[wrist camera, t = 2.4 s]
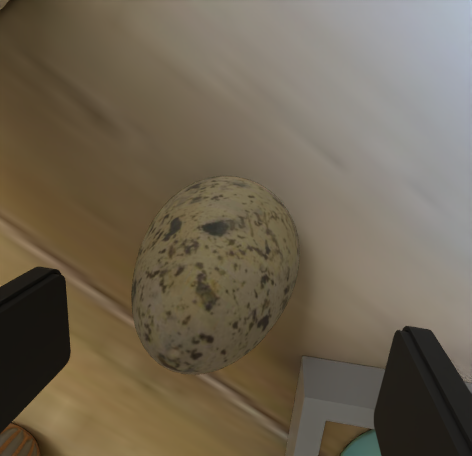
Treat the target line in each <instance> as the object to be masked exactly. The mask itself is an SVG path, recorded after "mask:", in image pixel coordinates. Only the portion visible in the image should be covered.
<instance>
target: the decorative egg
mask: <svg viewBox="0 0 472 456" xmlns="http://www.w3.org/2000/svg"><path fill="white" fill-rule="evenodd" d="M298 267H299V241H298V236H297V232H296V228H295V225H294V223H293V220H292V218H291V216H290V214H289V212H288V211H287V209H286V208H285V206H284V205H283V204H282V202H281V201H280V200H279V199H278V198H277V197H276V196H275V195H274V194H273V193H272V192H271V191H269V190H268V189H266V188H265V187H263V186H261V185H260V184H258V183H255V182H253V181H251V180H248V179H244V178H239V177H232V176H219V177H212V178H207V179H204V180H201V181H198V182H196V183H193V184H191V185H189V186H188V187H186V188H184V189H183V190H181V191H180V192H178V193H177V194H176V195H175V196H173V197H172V198H171V199H170V200H169V201H168V202H167V203H166V204H165V205H164V206H163V208H162V209H161V210H160V211H159V213H158V214H157V215H156V217H155V218H154V220H153V221H152V223H151V225H150V227H149V229H148V231H147V233H146V235H145V237H144V239H143V242H142V244H141V247H140V250H139V253H138V257H137V261H136V266H135V270H134V275H133V284H132V313H133V318H134V323H135V328H136V331H137V334H138V336H139V338H140V340H141V342H142V344H143V346H144V348H145V349H146V351H147V352H148V353H149V354H150V356H151V357H152V358H153V359H154V360H155V361H157V362H158V363H159V364H160V365H162V366H163V367H165V368H167V369H169V370H171V371H174V372H178V373H182V374H194V375H197V374H205V373H209V372H213V371H216V370H219V369H222V368H224V367H226V366H228V365H230V364H232V363H234V362H235V361H237V360H238V359H240V358H241V357H243V356H244V355H246V354H247V353H248V352H250V351H251V350H252V349H253V348H254V347H255V346H256V345H257V344H258V343H259V342H260V341H261V340H262V339H263V338H264V337H265V336H266V334H267V333H268V332H269V331H270V329H271V328H272V327H273V325H274V324H275V322H276V321H277V320H278V318H279V317H280V315H281V314H282V312H283V310H284V308H285V307H286V305H287V302H288V300H289V298H290V296H291V294H292V291H293V288H294V285H295V282H296V277H297V272H298Z"/></svg>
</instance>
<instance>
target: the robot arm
mask: <svg viewBox="0 0 472 456" xmlns="http://www.w3.org/2000/svg"><path fill="white" fill-rule="evenodd" d="M8 1H9V0H0V9H2V8H3V7H4V6H5V5H6V3H7V2H8ZM70 353H71V350H70V337H69V323H68V309H67V295H66V281H65V278H64V276H62V275H61V273H60V271H59V270H57V269H51V268H44V267H36V268H33V269H32V270H30V271H28V272H26V273H24V274H23V275H21V276H19V277H17V278H15V279H14V280H12V281H10V282H8V283H7V284H5V285H3V286H1V287H0V434H1V433H2V432H3V431H4V429H5V428H6V427H7V426H8V425H9V424H10V423H11V422H12V421H13V420H14V419H15V418H16V417H17V416H18V415H19V414H20V413H21V412H22V411H23V409H24V408H25V407H26V406H27V405H28V404H29V403H30V402H31V401H32V400H33V399H34V398H35V397H36V396H37V395H38V394H39V393H40V392H41V391H42V390H43V388H44V387H45V386H46V385H47V384H48V383H49V382H50V381H51V380H52V379H53V378H54V377H55V376H56V375H57V374H58V373H59V372H60V371H61V370H62V369H63V367H64V366H65V365H66V364H67V362H68V361H69V358H70ZM374 428H375V432H376V436H377V440H378V444H379V448H380V452H381V456H472V393H471V392H470V391H469V389H468V387H467V386H466V384H465V383H464V381H463V380H462V378H461V376H460V375H459V373H458V372H457V370H456V369H455V367H454V365H453V364H452V362H451V361H450V359H449V358H448V356H447V354H446V353H445V351H444V350H443V348H442V347H441V345H440V343H439V342H438V340H437V339H436V337H435V336H434V334H433V332H432V331H431V330H428V329H422V328H416V327H410V326H405V327H404V328H403V330H402V331H400V330H397V331H396V332H395V335H394V338H393V342H392V346H391V350H390V353H389V357H388V361H387V365H386V369H385V372H384V376H383V380H382V384H381V388H380V391H379V395H378V399H377V403H376V407H375V411H374Z"/></svg>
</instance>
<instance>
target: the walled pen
mask: <svg viewBox="0 0 472 456" xmlns="http://www.w3.org/2000/svg"><path fill="white" fill-rule="evenodd" d="M384 372H385V369H382V368H375V367H369V366H363V365H357V364H351V363H344V362H338V361H332V360H326V359H320V358H314V357H307V356H302V361H301V367H300V372H299V378H298V384H297V389H296V395H295V401H294V406H293V412H292V418H291V424H290V429H289V435H288V441H287V446H286V452H285V456H318V454H319V450H320V445H321V440H322V436H323V431H324V427H325V422H326V421H331V422H337V423H342V424H348V425H353V426H359V427H364V428H370V429H372V430H370V431H368V432H366V433H364V434H362V435H360V436H359V437H357V438H356V439H354V440H353V441H352V442H351V443H350V444H349V445H348V446H347V447H346V448H345V449H344V450H343V452H342V453H341V455H340V456H381V452H380V448H379V444H378V440H377V436H376V432H375V428H374V411H375V407H376V403H377V399H378V395H379V391H380V388H381V384H382V380H383V376H384ZM464 383H465V384H466V386H467V387H468V389H469V391H470V392H471V393H472V383H468V382H464Z"/></svg>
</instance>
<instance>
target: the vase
mask: <svg viewBox="0 0 472 456" xmlns="http://www.w3.org/2000/svg"><path fill="white" fill-rule="evenodd" d="M0 456H40V450H39V447H38V444H37V442H36V440H35V439H34V438H33V436H32V435H31V434H30V433H29V432H27V431H26V430H25V429H23V428H21V427H19V426H17V425H15V424H11V423H10V424H9V425H8V426H7V427H6V428H5V429H4V431H3V432H2V433H1V434H0Z"/></svg>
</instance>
